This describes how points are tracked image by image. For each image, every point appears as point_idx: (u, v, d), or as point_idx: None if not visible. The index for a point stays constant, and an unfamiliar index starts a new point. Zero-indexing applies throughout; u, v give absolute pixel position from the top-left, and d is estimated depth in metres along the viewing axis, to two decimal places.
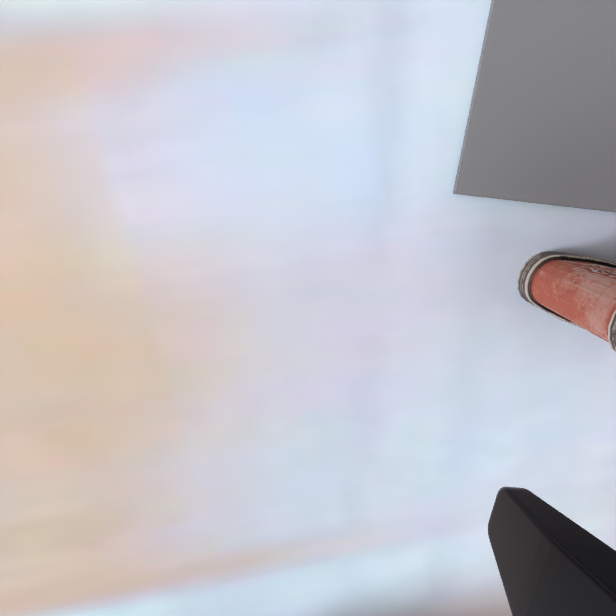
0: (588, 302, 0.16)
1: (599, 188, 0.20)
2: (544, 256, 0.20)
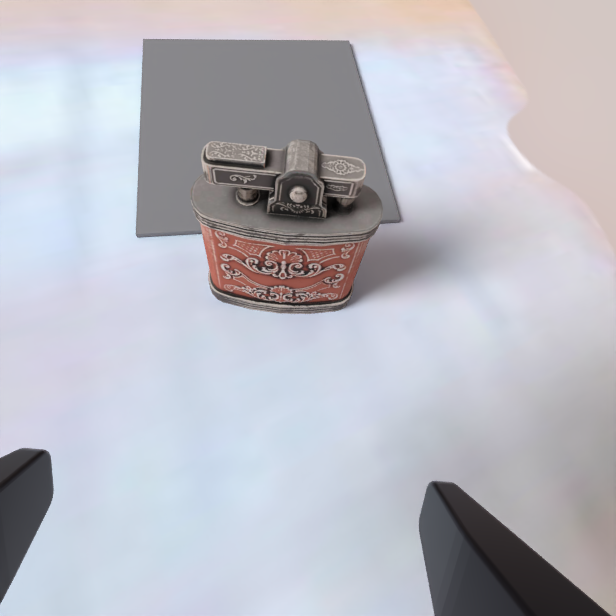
0: None
1: None
2: None
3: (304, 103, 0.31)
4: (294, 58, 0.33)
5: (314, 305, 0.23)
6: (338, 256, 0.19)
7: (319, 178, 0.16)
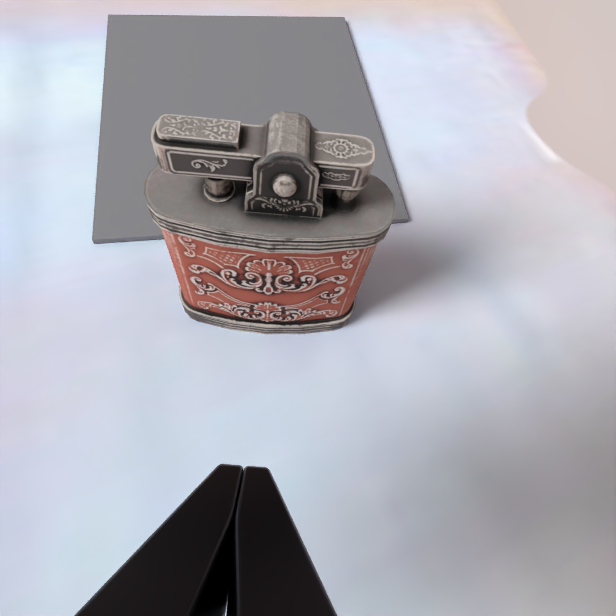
0: None
1: None
2: None
3: (294, 86, 0.27)
4: (282, 36, 0.29)
5: (308, 324, 0.19)
6: (338, 266, 0.15)
7: (313, 163, 0.12)
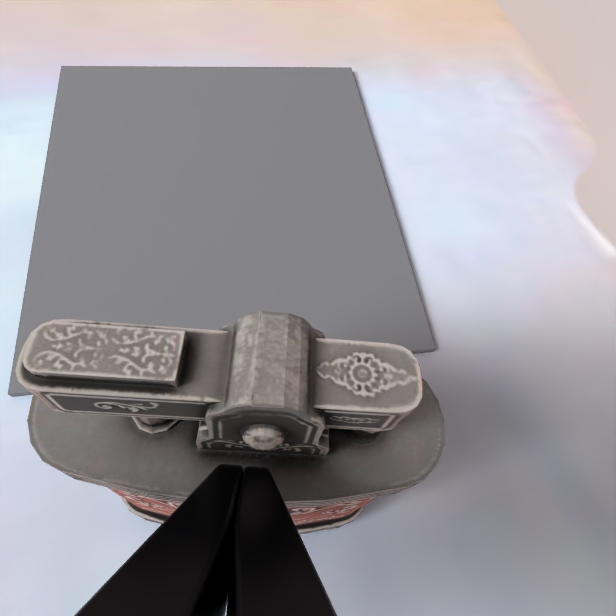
0: None
1: None
2: None
3: (289, 160, 0.22)
4: (276, 93, 0.24)
5: (303, 529, 0.13)
6: None
7: (313, 409, 0.06)
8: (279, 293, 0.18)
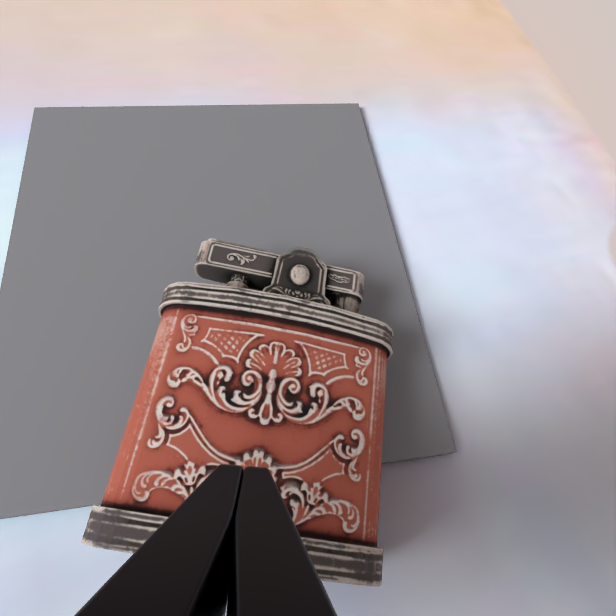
0: None
1: None
2: None
3: (288, 217, 0.19)
4: (274, 135, 0.21)
5: (317, 539, 0.11)
6: (352, 376, 0.13)
7: (321, 264, 0.16)
8: None
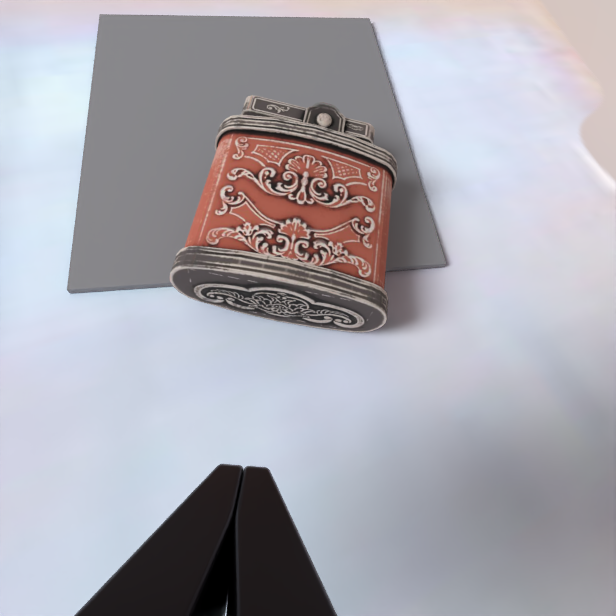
0: None
1: None
2: None
3: (311, 99, 0.23)
4: (298, 40, 0.25)
5: (340, 273, 0.15)
6: (365, 183, 0.17)
7: (340, 117, 0.20)
8: None
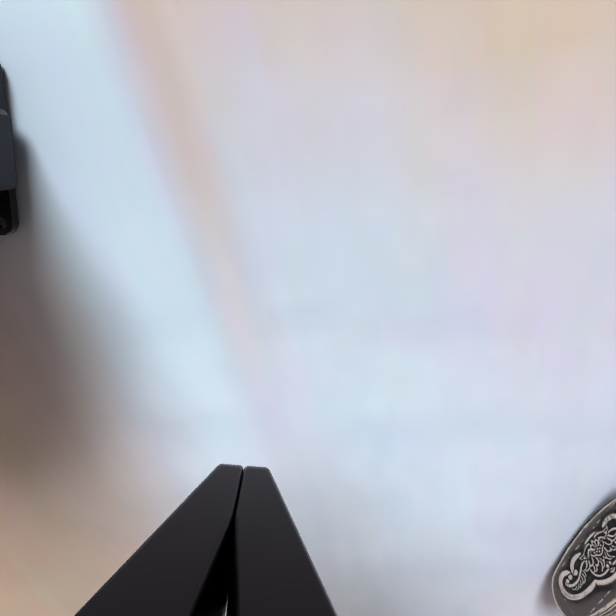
0: None
1: None
2: None
3: None
4: None
5: (614, 614, 0.21)
6: None
7: None
8: None
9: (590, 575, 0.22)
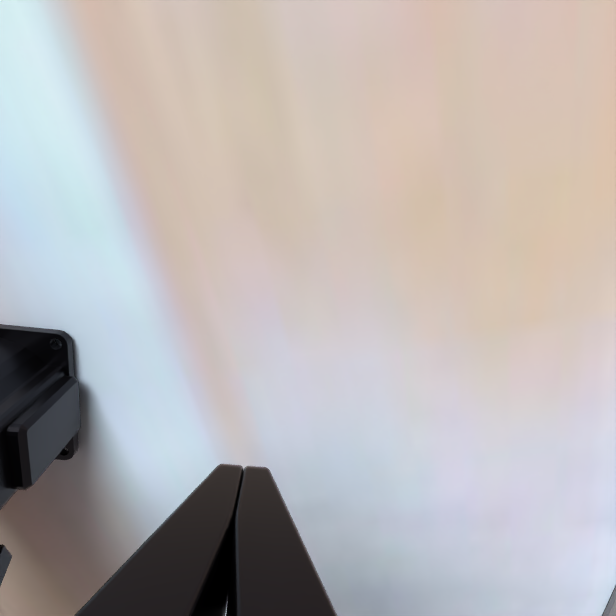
0: None
1: None
2: None
3: None
4: None
5: None
6: None
7: None
8: None
9: None
